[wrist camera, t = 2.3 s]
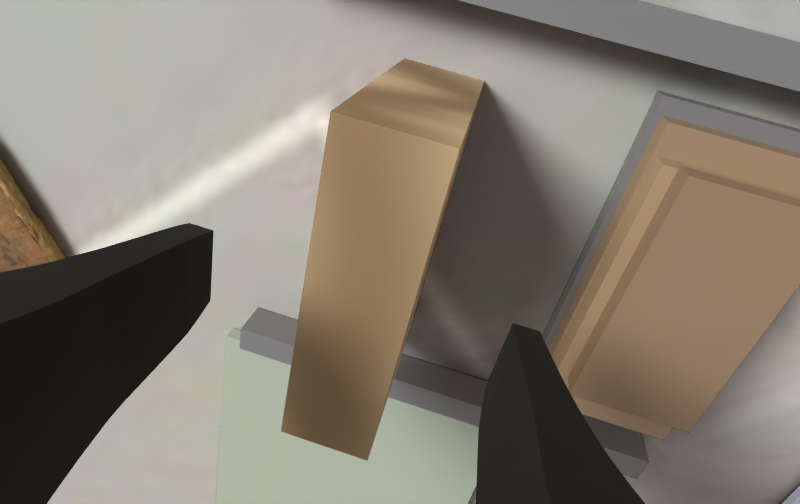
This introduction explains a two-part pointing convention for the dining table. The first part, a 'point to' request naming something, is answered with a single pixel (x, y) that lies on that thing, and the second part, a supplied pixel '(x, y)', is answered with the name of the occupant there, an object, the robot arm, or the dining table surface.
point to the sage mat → (327, 468)
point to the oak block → (373, 247)
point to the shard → (21, 230)
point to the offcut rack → (653, 244)
